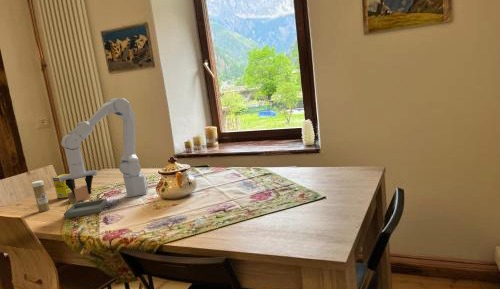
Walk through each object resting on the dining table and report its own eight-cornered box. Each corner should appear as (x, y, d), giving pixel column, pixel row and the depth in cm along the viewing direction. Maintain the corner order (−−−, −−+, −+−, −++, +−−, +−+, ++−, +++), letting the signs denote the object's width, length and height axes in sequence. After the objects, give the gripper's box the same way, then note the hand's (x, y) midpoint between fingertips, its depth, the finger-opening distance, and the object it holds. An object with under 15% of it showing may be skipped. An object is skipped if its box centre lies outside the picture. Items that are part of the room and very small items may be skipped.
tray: (107, 203, 169) (106, 198, 169) (100, 212, 157) (99, 207, 157) (74, 208, 168) (73, 204, 167) (64, 218, 156) (63, 213, 156)
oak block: (89, 196, 186) (87, 186, 185) (85, 200, 179) (82, 190, 178) (74, 198, 185) (72, 188, 184) (69, 203, 178) (67, 193, 177)
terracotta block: (91, 195, 165) (88, 183, 164) (89, 198, 160) (86, 187, 159) (79, 197, 164) (76, 186, 163) (76, 200, 159) (73, 189, 158)
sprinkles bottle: (44, 212, 169) (36, 182, 167) (36, 212, 171) (28, 183, 168) (52, 208, 174) (45, 179, 171) (44, 208, 175) (37, 180, 173)
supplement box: (68, 198, 186) (62, 177, 184) (57, 199, 187) (52, 178, 185) (75, 194, 191) (70, 173, 189) (65, 195, 193) (60, 174, 191)
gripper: (95, 158, 164) (102, 188, 166) (59, 164, 161) (67, 195, 164) (92, 161, 157) (100, 193, 160) (55, 168, 154) (62, 200, 157)
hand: (83, 194), depth 161 cm, fingers closed on terracotta block, 5 cm apart
